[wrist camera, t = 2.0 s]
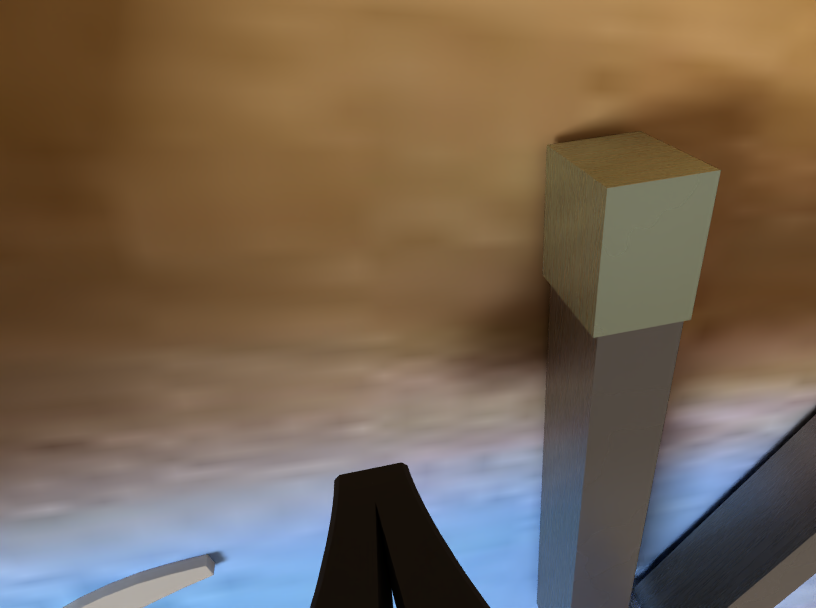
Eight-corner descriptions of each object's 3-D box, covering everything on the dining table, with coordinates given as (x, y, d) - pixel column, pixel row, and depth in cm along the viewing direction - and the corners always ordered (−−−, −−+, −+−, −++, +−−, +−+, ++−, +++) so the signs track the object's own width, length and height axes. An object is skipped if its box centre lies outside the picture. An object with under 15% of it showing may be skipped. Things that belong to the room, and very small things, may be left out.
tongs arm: (640, 130, 12) (720, 170, 9) (585, 592, 20) (620, 668, 18) (546, 145, 12) (607, 188, 9) (531, 604, 20) (560, 683, 18)
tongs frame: (1052, 233, 16) (1249, 303, 12) (600, 649, 23) (649, 759, 20) (982, 168, 14) (1185, 229, 11) (522, 637, 22) (561, 755, 18)
